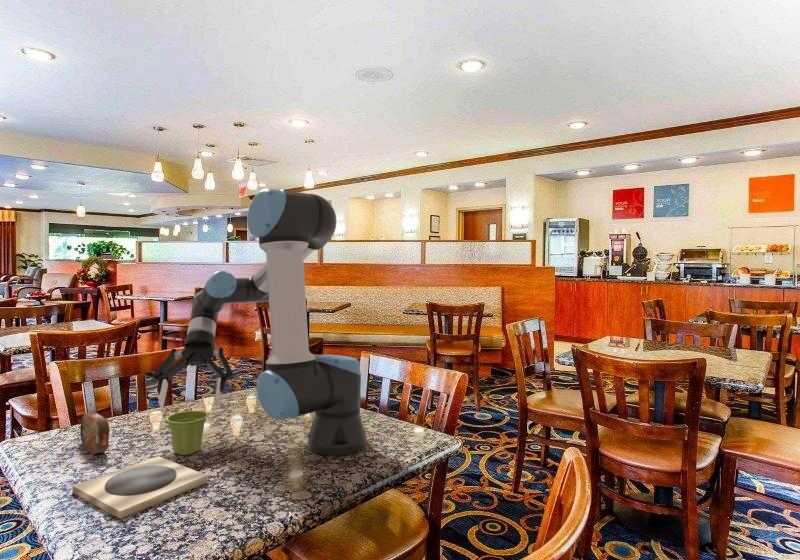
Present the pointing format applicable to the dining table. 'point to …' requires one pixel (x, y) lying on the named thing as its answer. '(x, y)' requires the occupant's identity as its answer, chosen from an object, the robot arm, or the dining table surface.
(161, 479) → the serving board
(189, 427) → the plant pot
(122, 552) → the dining table surface
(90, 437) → the tin
